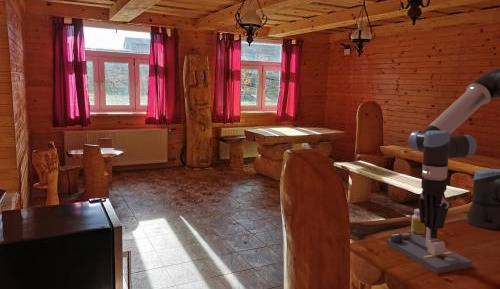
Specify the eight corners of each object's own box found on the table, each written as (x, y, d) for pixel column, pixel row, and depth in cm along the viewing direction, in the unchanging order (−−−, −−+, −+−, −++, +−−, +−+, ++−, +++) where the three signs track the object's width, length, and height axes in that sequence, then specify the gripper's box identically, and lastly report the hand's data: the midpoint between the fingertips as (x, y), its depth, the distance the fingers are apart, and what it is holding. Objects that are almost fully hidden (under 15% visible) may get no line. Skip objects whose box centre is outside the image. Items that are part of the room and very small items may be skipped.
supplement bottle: (427, 237, 145) (429, 212, 144) (412, 236, 146) (414, 212, 145) (424, 232, 150) (425, 208, 149) (409, 231, 151) (410, 207, 150)
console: (417, 239, 143) (418, 227, 142) (471, 267, 120) (472, 253, 120) (386, 244, 139) (386, 232, 138) (436, 273, 116) (437, 259, 116)
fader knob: (437, 250, 127) (438, 238, 127) (444, 253, 125) (445, 241, 124) (427, 251, 126) (427, 239, 126) (433, 255, 123) (434, 243, 123)
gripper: (410, 174, 129) (407, 240, 133) (440, 183, 117) (436, 255, 120) (428, 172, 132) (424, 237, 135) (459, 181, 119) (454, 252, 123)
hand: (430, 245), depth 128 cm, fingers closed
